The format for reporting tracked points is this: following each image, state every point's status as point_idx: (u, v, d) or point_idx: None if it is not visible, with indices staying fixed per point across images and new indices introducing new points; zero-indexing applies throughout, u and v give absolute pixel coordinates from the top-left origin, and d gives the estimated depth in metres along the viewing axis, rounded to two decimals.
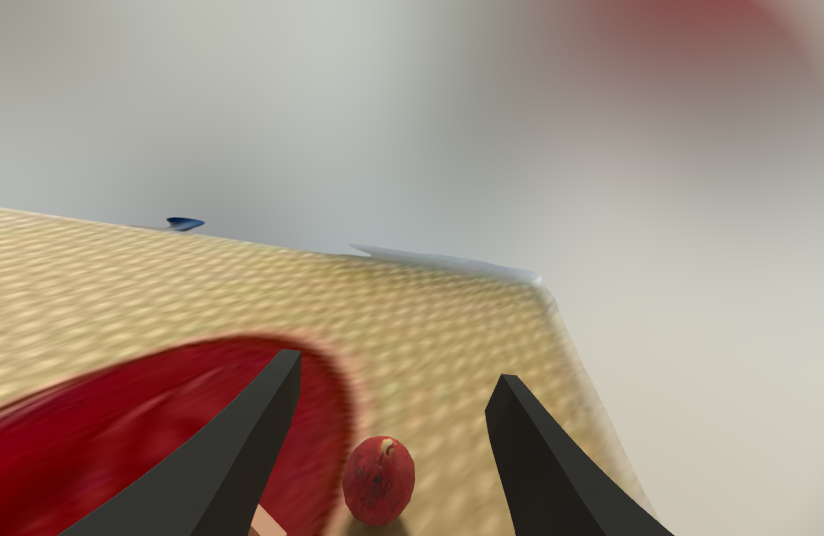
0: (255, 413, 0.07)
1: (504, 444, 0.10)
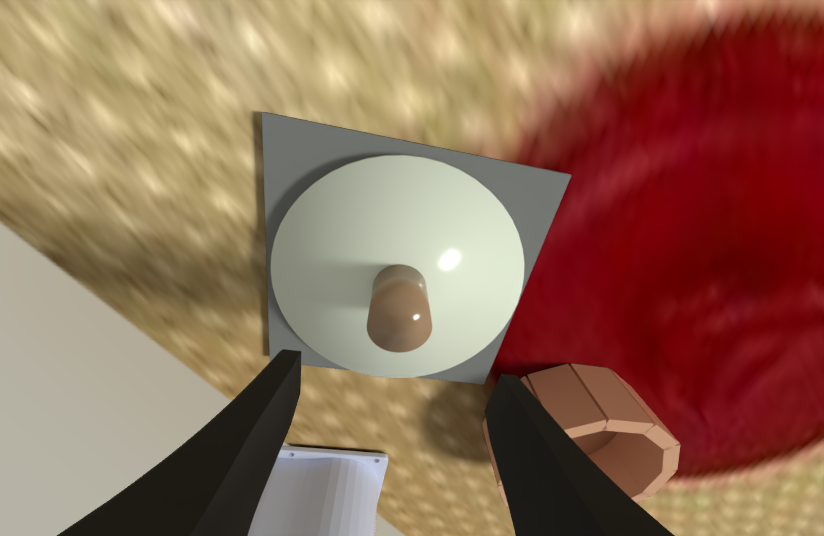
0: (255, 413, 0.07)
1: (504, 444, 0.10)
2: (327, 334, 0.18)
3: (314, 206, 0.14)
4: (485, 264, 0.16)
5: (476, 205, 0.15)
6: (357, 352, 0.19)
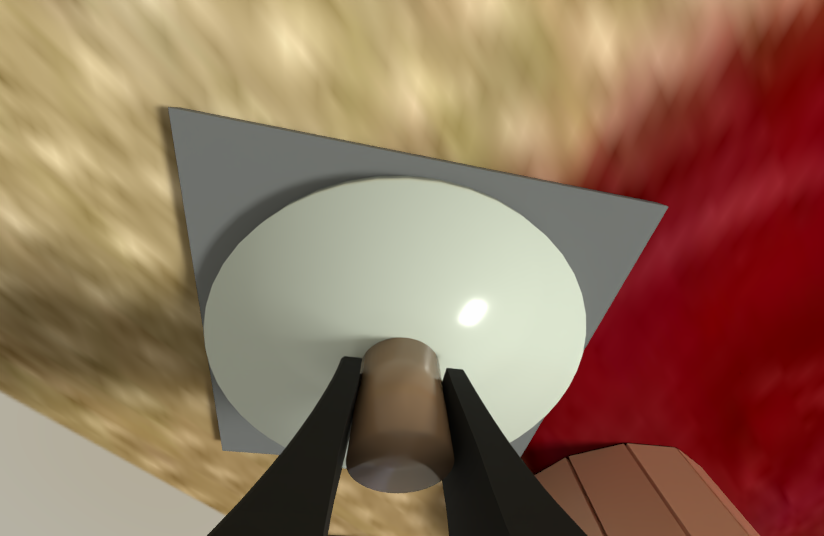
0: (340, 420, 0.07)
1: None
2: (297, 426, 0.13)
3: (263, 258, 0.09)
4: (528, 335, 0.11)
5: (521, 254, 0.09)
6: None
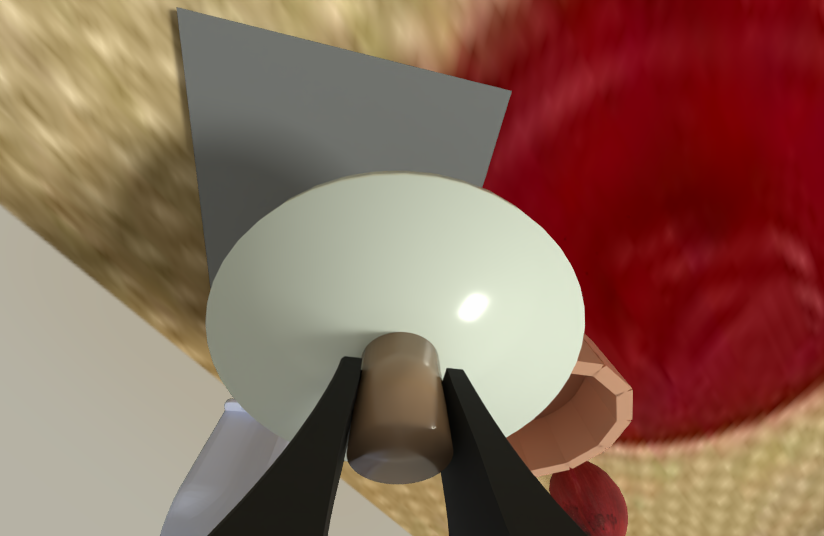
0: (340, 420, 0.07)
1: None
2: (299, 420, 0.13)
3: (263, 255, 0.09)
4: (527, 329, 0.11)
5: (519, 248, 0.09)
6: None
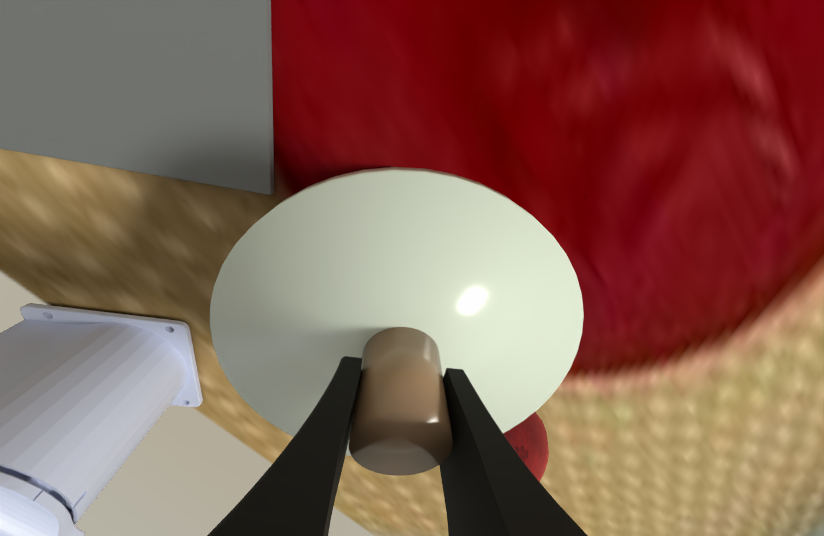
0: (340, 420, 0.07)
1: None
2: (307, 417, 0.13)
3: (260, 257, 0.09)
4: (525, 319, 0.11)
5: (511, 239, 0.09)
6: None
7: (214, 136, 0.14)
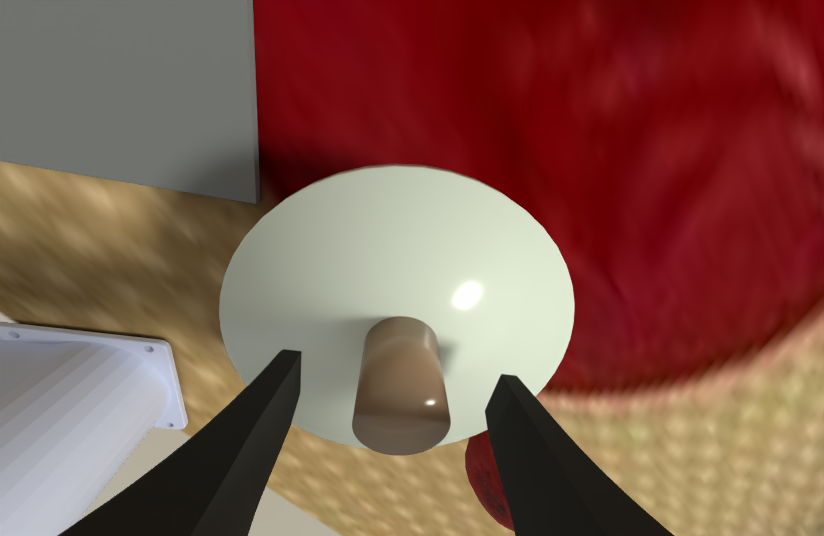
0: (255, 413, 0.07)
1: (504, 444, 0.10)
2: (310, 406, 0.14)
3: (268, 248, 0.10)
4: (519, 308, 0.12)
5: (504, 231, 0.10)
6: (352, 424, 0.14)
7: (191, 139, 0.13)
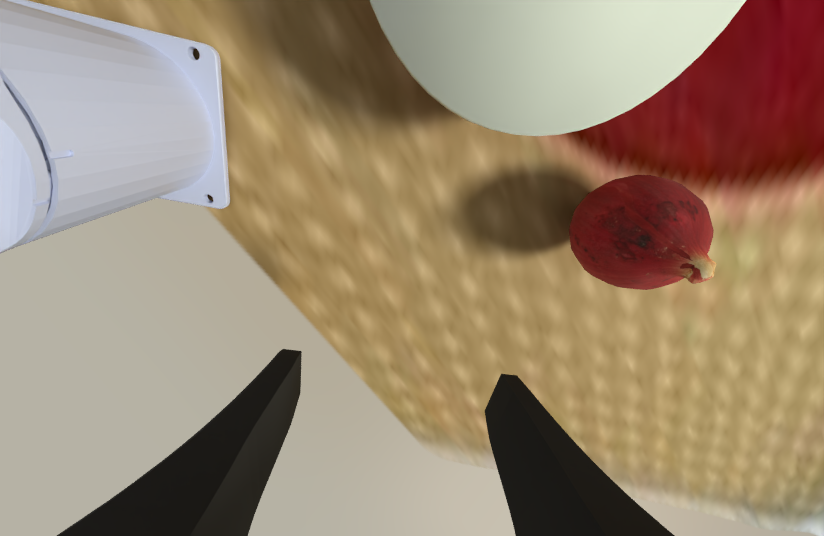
0: (255, 413, 0.07)
1: (504, 444, 0.10)
2: (433, 19, 0.10)
3: None
4: None
5: None
6: (480, 69, 0.11)
7: None
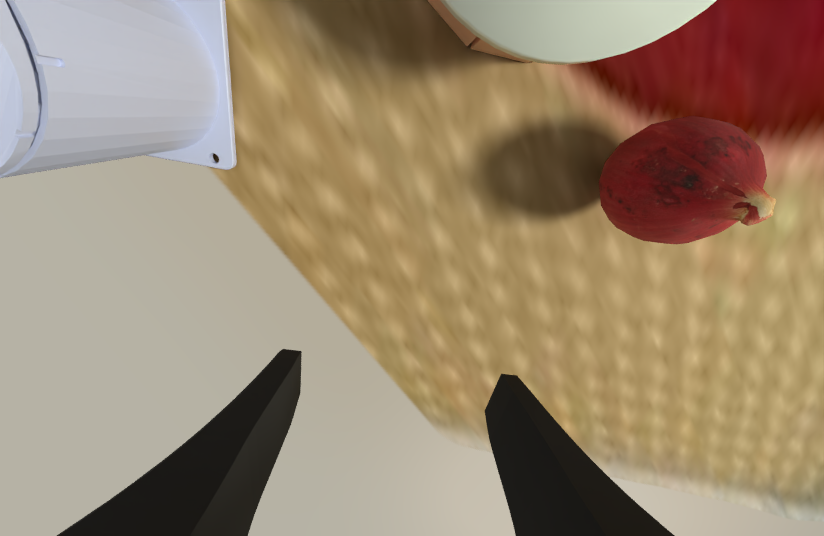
0: (255, 413, 0.07)
1: (504, 444, 0.10)
2: None
3: None
4: None
5: None
6: None
7: None
